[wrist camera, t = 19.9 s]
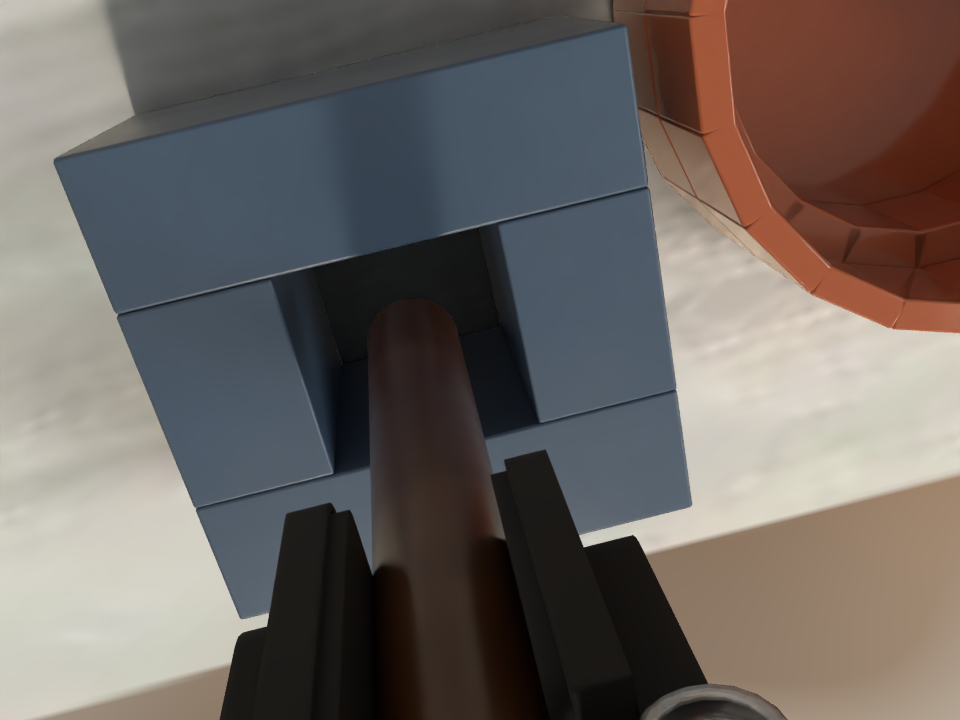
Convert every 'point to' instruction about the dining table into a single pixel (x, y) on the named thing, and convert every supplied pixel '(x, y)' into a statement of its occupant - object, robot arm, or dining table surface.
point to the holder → (380, 226)
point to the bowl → (815, 140)
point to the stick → (439, 536)
